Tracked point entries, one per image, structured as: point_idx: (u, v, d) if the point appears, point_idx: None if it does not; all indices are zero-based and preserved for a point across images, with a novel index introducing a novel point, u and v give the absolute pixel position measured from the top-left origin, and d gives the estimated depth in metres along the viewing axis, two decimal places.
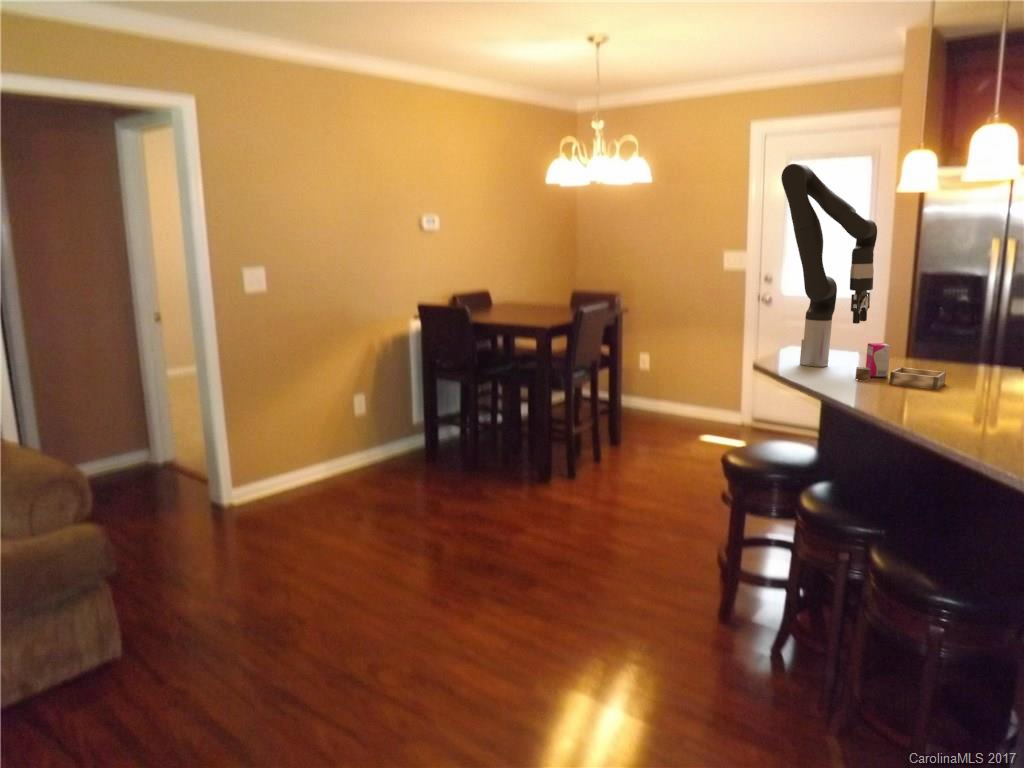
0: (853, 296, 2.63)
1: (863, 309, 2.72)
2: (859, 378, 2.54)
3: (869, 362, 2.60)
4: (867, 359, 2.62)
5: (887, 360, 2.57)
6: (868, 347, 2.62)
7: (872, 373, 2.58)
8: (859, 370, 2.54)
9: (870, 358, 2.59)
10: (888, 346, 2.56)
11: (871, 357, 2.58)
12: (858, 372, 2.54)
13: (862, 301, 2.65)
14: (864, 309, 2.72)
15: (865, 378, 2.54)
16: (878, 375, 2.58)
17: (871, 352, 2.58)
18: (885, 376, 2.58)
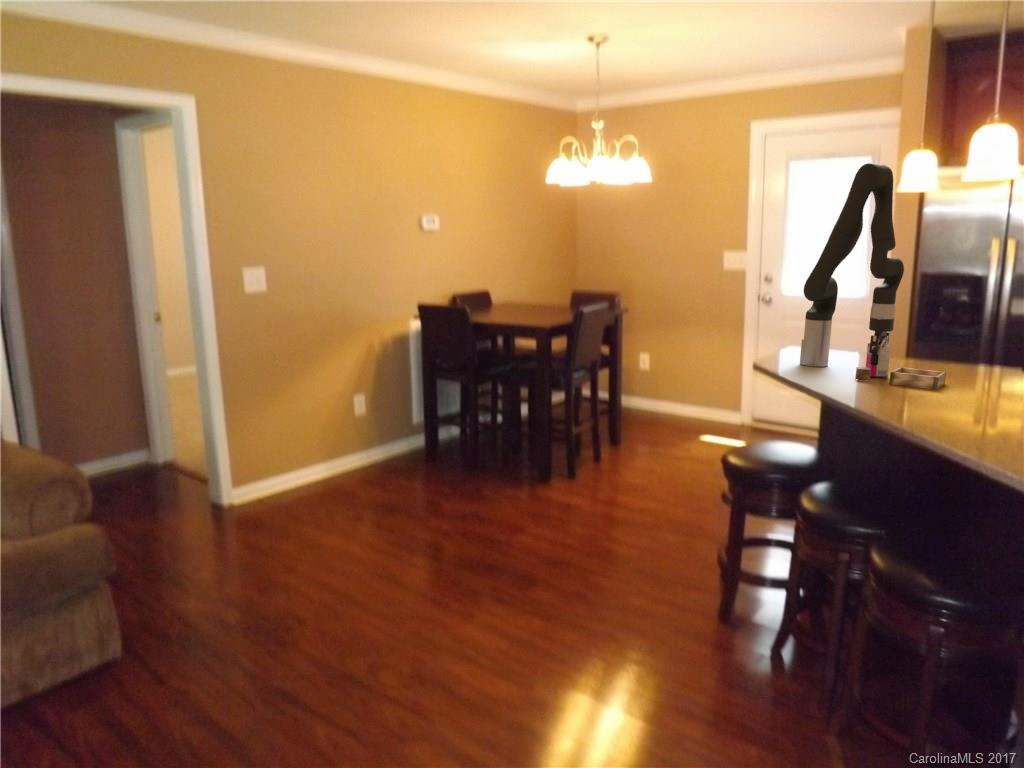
0: (872, 337, 2.54)
1: None
2: (859, 378, 2.54)
3: (869, 362, 2.60)
4: (867, 359, 2.62)
5: (887, 360, 2.57)
6: (868, 347, 2.61)
7: (872, 373, 2.58)
8: (859, 370, 2.54)
9: (870, 358, 2.59)
10: (888, 346, 2.56)
11: None
12: (858, 372, 2.54)
13: (881, 342, 2.56)
14: None
15: (865, 378, 2.54)
16: (878, 375, 2.58)
17: None
18: (885, 376, 2.58)
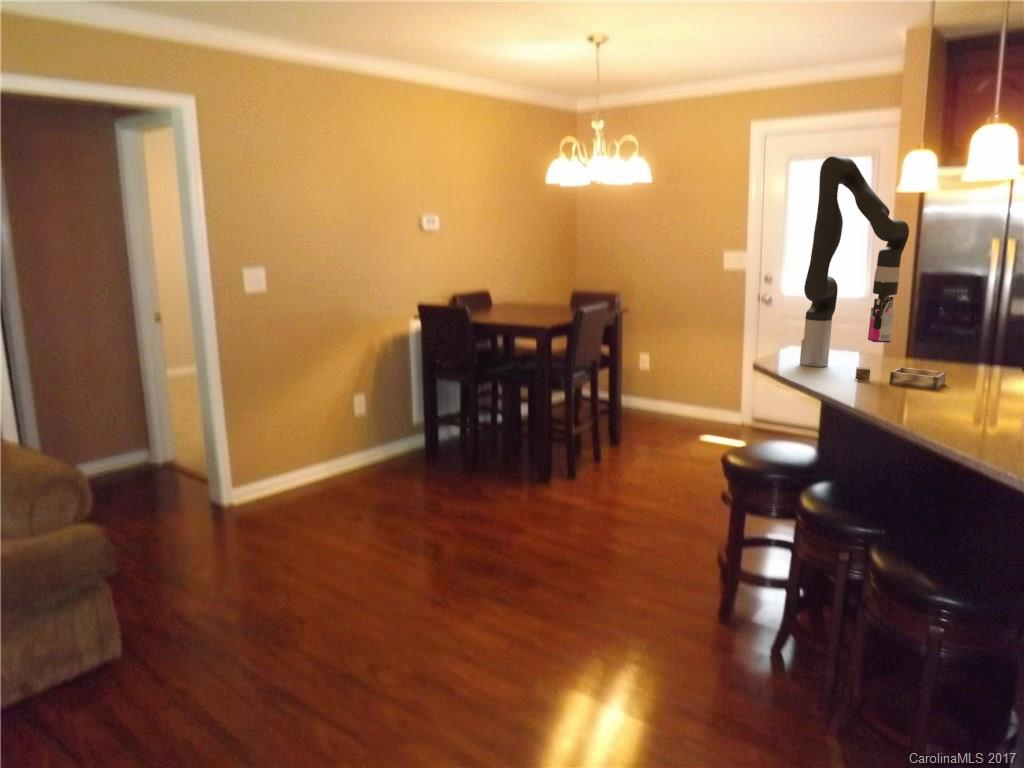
0: (876, 301, 2.51)
1: None
2: (859, 378, 2.54)
3: (872, 326, 2.58)
4: (871, 324, 2.59)
5: (890, 324, 2.55)
6: (871, 311, 2.59)
7: (875, 337, 2.56)
8: (859, 370, 2.54)
9: (873, 322, 2.57)
10: (892, 310, 2.54)
11: None
12: (858, 372, 2.54)
13: (885, 306, 2.53)
14: None
15: (865, 378, 2.54)
16: (881, 339, 2.56)
17: None
18: (888, 340, 2.56)
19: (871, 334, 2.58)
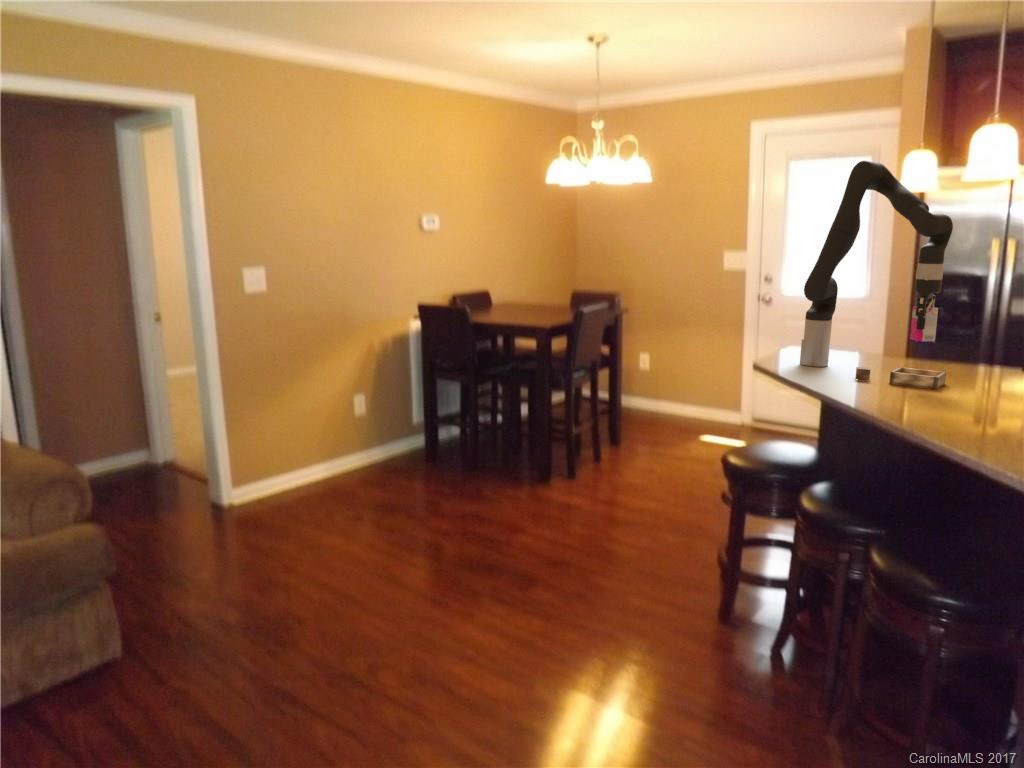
0: (919, 299, 2.38)
1: None
2: (859, 378, 2.54)
3: (915, 327, 2.45)
4: (913, 324, 2.46)
5: (934, 324, 2.42)
6: (913, 311, 2.46)
7: (918, 338, 2.43)
8: (859, 370, 2.54)
9: (916, 322, 2.44)
10: (936, 309, 2.41)
11: None
12: (858, 372, 2.54)
13: (928, 305, 2.40)
14: None
15: (865, 378, 2.54)
16: (924, 340, 2.43)
17: None
18: (932, 341, 2.43)
19: (914, 335, 2.45)
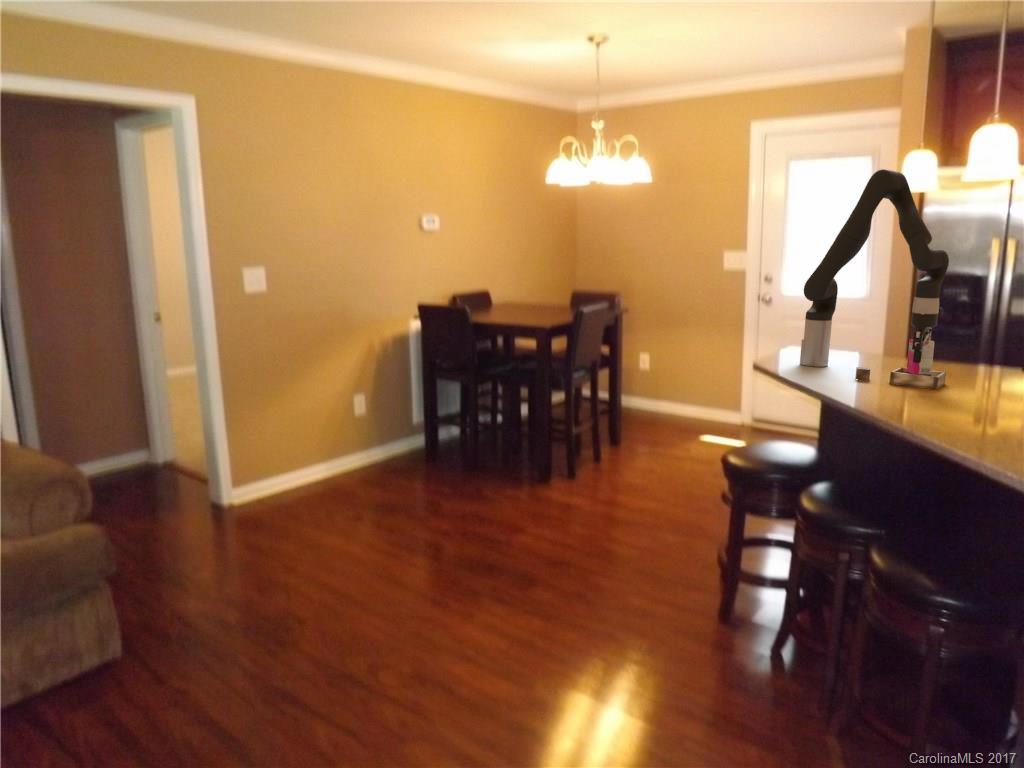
0: (916, 333, 2.41)
1: None
2: (859, 378, 2.54)
3: (911, 359, 2.47)
4: (909, 356, 2.48)
5: (931, 357, 2.44)
6: (910, 344, 2.48)
7: (915, 371, 2.45)
8: (859, 370, 2.54)
9: None
10: (932, 342, 2.43)
11: None
12: (858, 372, 2.54)
13: (925, 339, 2.43)
14: None
15: (865, 378, 2.54)
16: (921, 373, 2.45)
17: None
18: (928, 374, 2.45)
19: (910, 367, 2.48)
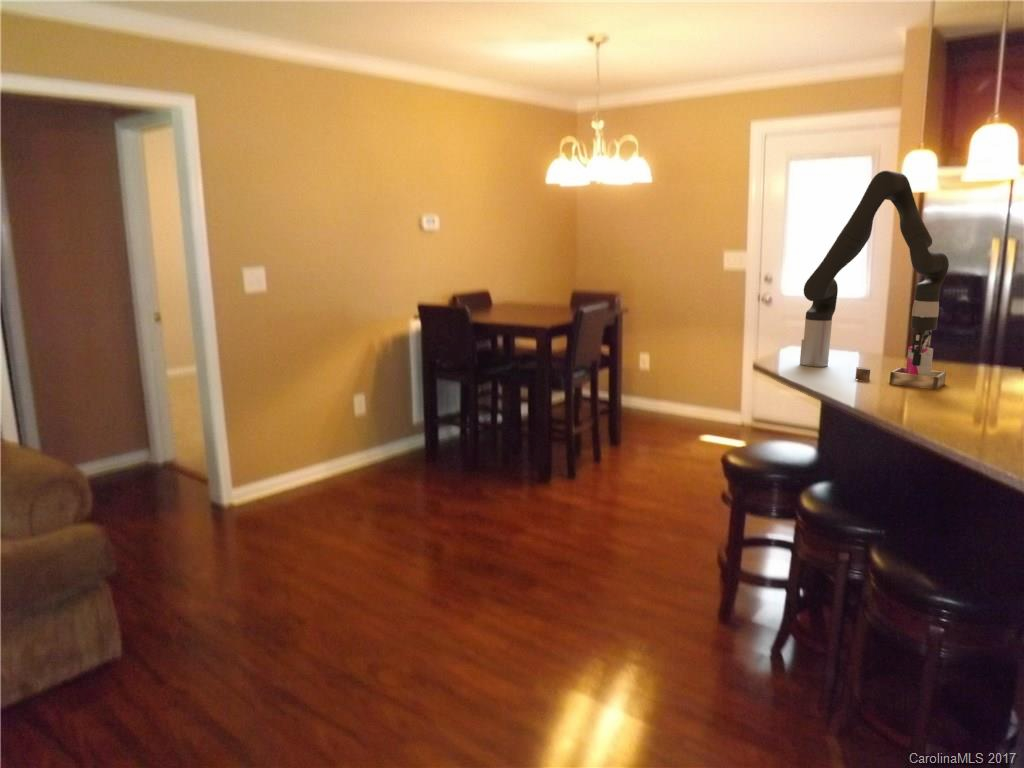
0: (915, 336, 2.41)
1: None
2: (859, 378, 2.54)
3: (910, 366, 2.47)
4: (908, 363, 2.49)
5: (929, 364, 2.45)
6: (909, 351, 2.49)
7: None
8: (859, 370, 2.54)
9: (911, 362, 2.47)
10: (931, 350, 2.44)
11: (912, 361, 2.46)
12: (858, 372, 2.54)
13: (924, 342, 2.43)
14: None
15: (865, 378, 2.54)
16: None
17: (912, 356, 2.46)
18: None
19: None
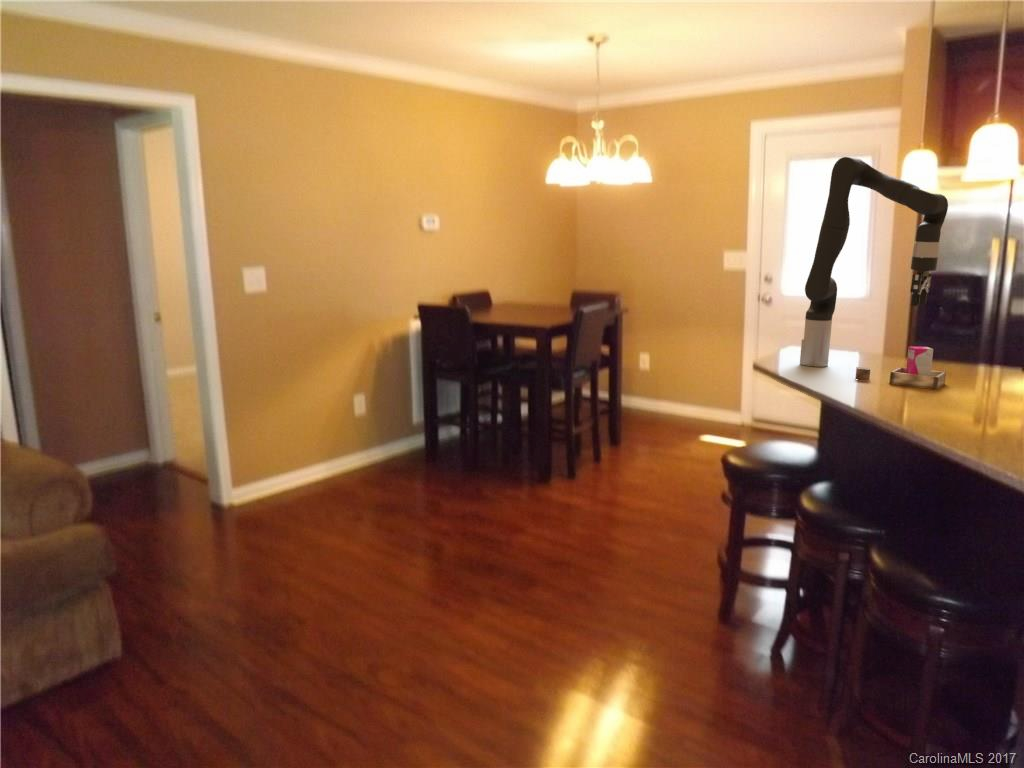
0: (914, 276, 2.45)
1: (923, 291, 2.54)
2: (859, 378, 2.54)
3: (910, 366, 2.47)
4: (908, 363, 2.49)
5: (929, 364, 2.45)
6: (909, 351, 2.49)
7: None
8: (859, 370, 2.54)
9: (911, 362, 2.47)
10: (931, 350, 2.44)
11: (912, 361, 2.46)
12: (858, 372, 2.54)
13: (923, 282, 2.47)
14: (924, 291, 2.54)
15: (865, 378, 2.54)
16: None
17: (912, 356, 2.46)
18: None
19: None
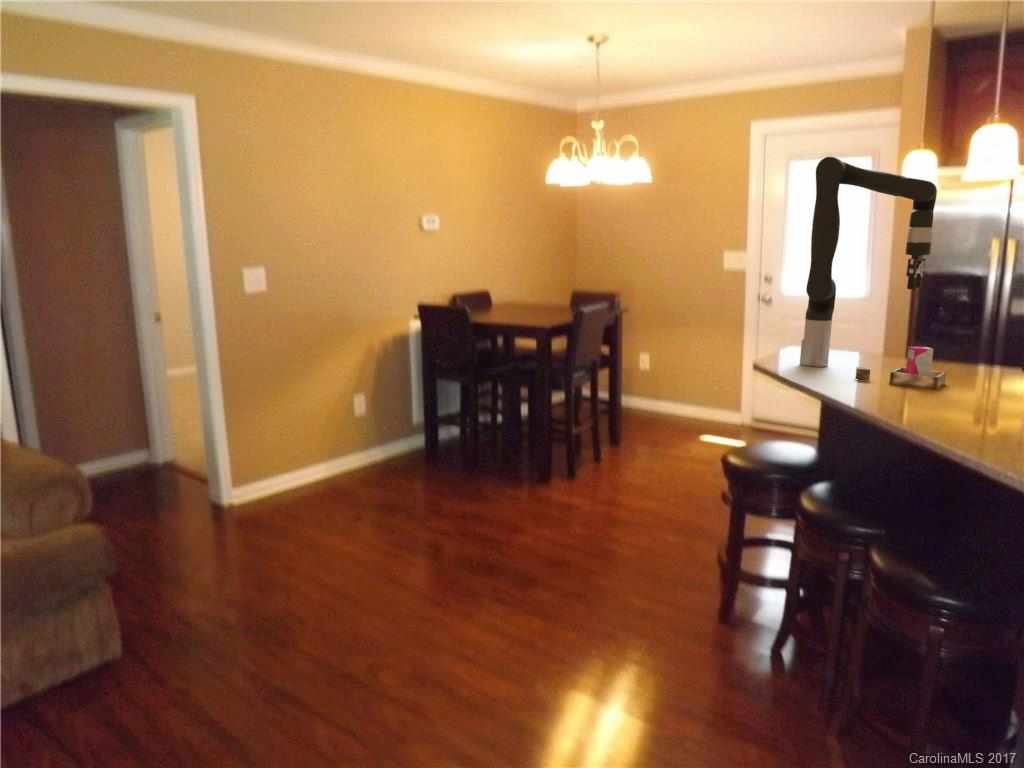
0: (910, 260, 2.55)
1: (917, 275, 2.64)
2: (859, 378, 2.54)
3: (910, 366, 2.47)
4: (908, 363, 2.49)
5: (929, 364, 2.45)
6: (909, 351, 2.49)
7: None
8: (859, 370, 2.54)
9: (911, 362, 2.47)
10: (931, 350, 2.44)
11: (912, 361, 2.46)
12: (858, 372, 2.54)
13: (918, 266, 2.57)
14: (919, 275, 2.63)
15: (865, 378, 2.54)
16: None
17: (912, 356, 2.46)
18: None
19: None
